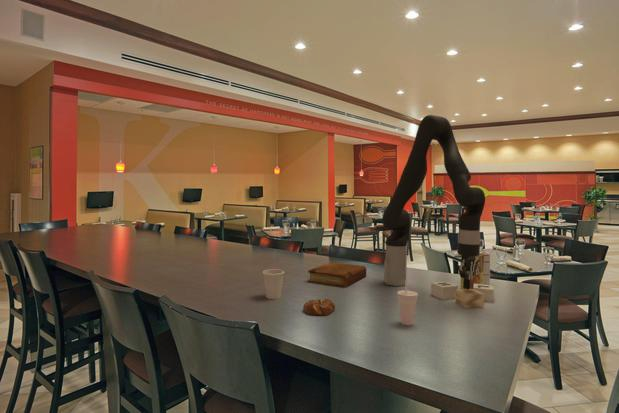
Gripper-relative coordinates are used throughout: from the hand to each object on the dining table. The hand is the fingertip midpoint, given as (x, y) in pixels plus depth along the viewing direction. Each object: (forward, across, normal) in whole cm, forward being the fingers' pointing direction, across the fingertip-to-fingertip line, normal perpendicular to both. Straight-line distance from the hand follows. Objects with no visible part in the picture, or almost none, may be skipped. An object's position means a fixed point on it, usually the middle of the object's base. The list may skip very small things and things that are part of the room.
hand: (466, 288), depth 141 cm
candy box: (+6, +21, +7) cm, 23 cm away
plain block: (+6, 0, -1) cm, 6 cm away
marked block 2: (+6, +11, -2) cm, 13 cm away
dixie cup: (+6, -46, +56) cm, 72 cm away
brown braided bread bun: (+6, -45, +32) cm, 55 cm away
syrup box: (+6, +33, +8) cm, 35 cm away
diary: (+7, -6, +57) cm, 58 cm away
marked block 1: (+6, +4, +10) cm, 13 cm away
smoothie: (+6, -33, +5) cm, 34 cm away
